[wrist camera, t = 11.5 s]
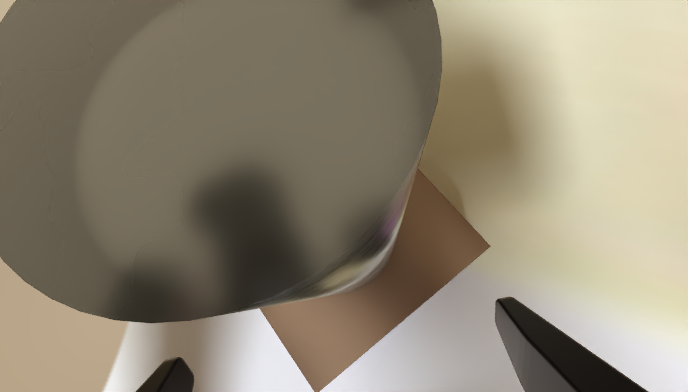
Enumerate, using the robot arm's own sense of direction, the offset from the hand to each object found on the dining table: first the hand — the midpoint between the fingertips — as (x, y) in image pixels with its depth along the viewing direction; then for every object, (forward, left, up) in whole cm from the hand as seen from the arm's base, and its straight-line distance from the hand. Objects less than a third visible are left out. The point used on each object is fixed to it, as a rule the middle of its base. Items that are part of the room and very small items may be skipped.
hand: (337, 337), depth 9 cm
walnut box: (+2, +4, -9) cm, 10 cm away
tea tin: (+2, +3, -6) cm, 7 cm away
